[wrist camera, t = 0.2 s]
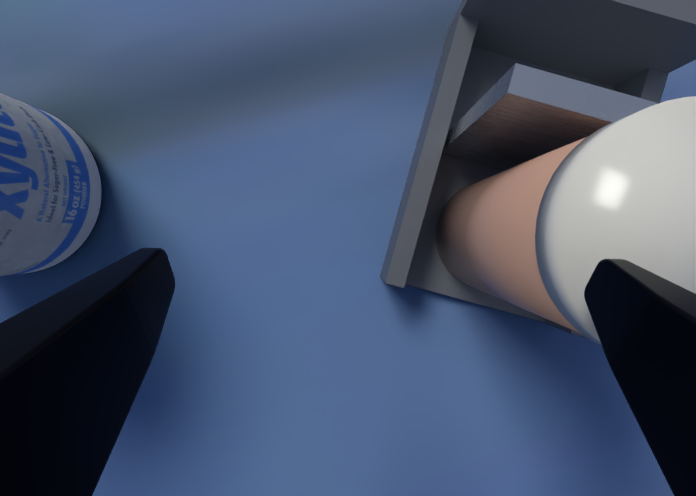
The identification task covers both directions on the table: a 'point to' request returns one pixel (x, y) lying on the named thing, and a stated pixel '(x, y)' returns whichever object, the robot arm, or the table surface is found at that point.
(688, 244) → the jar
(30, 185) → the supplement tub
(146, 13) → the table surface
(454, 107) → the lane
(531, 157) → the follower
